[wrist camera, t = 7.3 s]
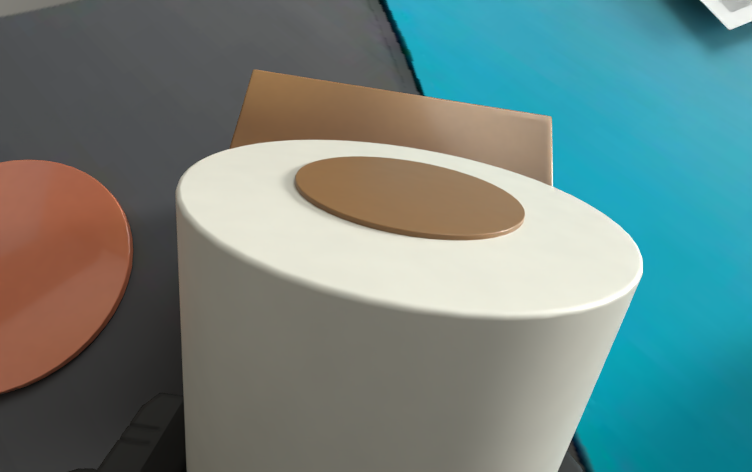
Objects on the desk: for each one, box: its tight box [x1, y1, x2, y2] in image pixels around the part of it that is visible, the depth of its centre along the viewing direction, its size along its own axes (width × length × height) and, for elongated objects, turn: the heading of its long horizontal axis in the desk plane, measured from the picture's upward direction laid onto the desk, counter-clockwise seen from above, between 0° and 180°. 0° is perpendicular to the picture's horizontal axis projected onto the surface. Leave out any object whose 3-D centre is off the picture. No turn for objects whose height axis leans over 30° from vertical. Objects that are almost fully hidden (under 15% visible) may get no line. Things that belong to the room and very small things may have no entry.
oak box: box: [230, 70, 553, 187], centre depth 18 cm, size 6×10×8 cm, turn 82°
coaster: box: [0, 160, 133, 394], centre depth 20 cm, size 11×11×1 cm
